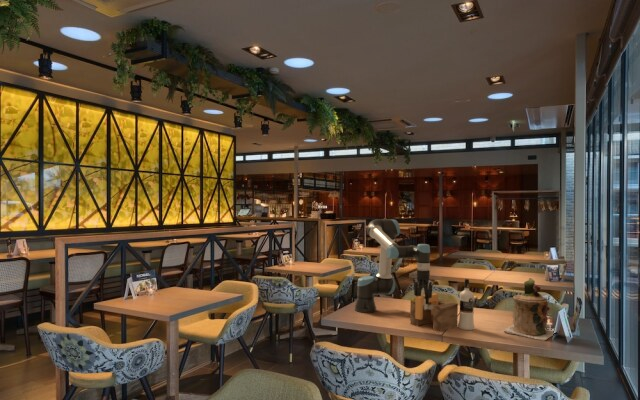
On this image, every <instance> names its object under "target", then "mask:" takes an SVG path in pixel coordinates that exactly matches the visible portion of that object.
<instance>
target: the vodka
mask: <svg viewBox="0 0 640 400" xmlns="http://www.w3.org/2000/svg"><path fill="white" fill-rule="evenodd" d="M474 298H475V293H473V292H472V291H471V290H470V279H469V278H465V279H464V289H463V290H462V291H460V293H459V311H458V312H459V318H458V323H457V327H458V328H459V329H460V330H463V331H473V330H474V329H475V323H474V322H475V321H474V312H475V311H474V301H475V299H474Z"/></svg>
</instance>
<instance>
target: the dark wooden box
mask: <svg viewBox="0 0 640 400" xmlns="http://www.w3.org/2000/svg"><path fill="white" fill-rule="evenodd" d="M410 309H411V315H410V325H413V326H418V327H420V326H422V325H426V324H430V323H431V324H432V325H433V327H432V330H433V331H438V332H441V333H442V332H445V331H449V330H451V329H454V328H457V327H458V323H459V318H458V315H459V314H458V312H459V311H458V309H459V305H458V303H456V302H451V301H445V300H439V299H438V305H437V306H435V305H431V302H429V304H428V309H426V310H424V304H423V319H421V320H419V319H415V301H412V302H411V301H410ZM431 310H433V315H431Z"/></svg>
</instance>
